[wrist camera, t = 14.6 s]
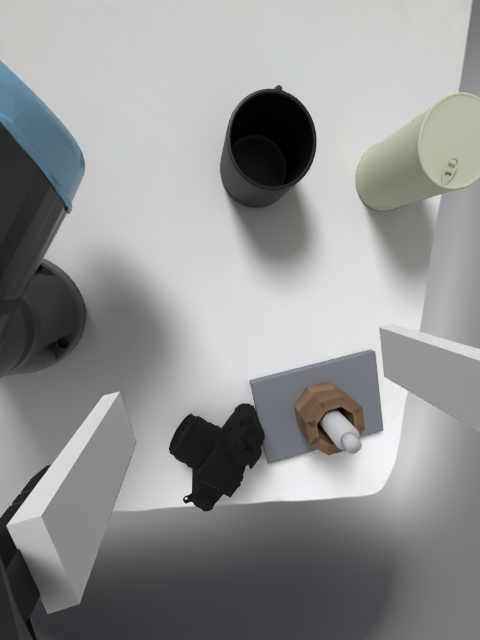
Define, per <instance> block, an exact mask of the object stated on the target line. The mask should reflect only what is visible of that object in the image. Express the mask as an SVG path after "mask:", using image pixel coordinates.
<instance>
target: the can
mask: <svg viewBox="0 0 480 640" xmlns="http://www.w3.org/2000/svg"><path fill="white" fill-rule="evenodd" d="M479 178H480V98H479V97H477V96H475V95H473V94H470V93H462V92H460V93H453V94H450V95H448V96H446V97H444V98H442V99H440V100H439V101H438V102H437V103H435V104H434V105H433V106H432V107H431V108H429V109H428V110H426V111H425V112H424V113H422V114H421V115H419V116H418V117H416V118H415V119H414V120H412V121H411V122H409V123H408V124H406V125H405V126H404V127H402V128H401V129H399V130H398V131H396V132H395V133H393V134H392V135H390V136H389V137H388V138H386V139H384V140H383V141H381V142H380V143H377V144H375V145H374V146H372V147H371V148H369V149H368V150H367V151H366V152H365V153H364V155H363V156H362V158H361V160H360V162H359V164H358V167H357V171H356V187H357V191H358V193H359V196H360V197H361V199H362V200H363V202H364V203H365V204H366V205H367V206H369V207H370V208H372V209H374V210H377V211H391V210H394V209H396V208H398V207H400V206H403V205H406V204H410V203H413V202H416V201H419V200H423V199H426V198H429V197H433V196H436V195H440V194H443V193H447V192H450V191H454V190H460V189H463V188H466V187H468V186H470V185H472V184H473V183H475V182H476V181H477V180H478V179H479Z"/></svg>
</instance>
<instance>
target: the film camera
mask: <svg viewBox="0 0 480 640" xmlns="http://www.w3.org/2000/svg"><path fill="white" fill-rule="evenodd" d="M264 439H265V435H264V430H263V428H262V426H261V423H260V421H259V419H258V416H257V413H256V410H255V408H254V406H253V405H252V406H251V405H250V404H240V405H239V406H238V407H236V408H235V411H234V412H233V414H232V415H231V416H230V418H229V419H228V420H227V421H226V423H225V424H224V425H223V427H222V428H220V427H219V426H217V425H216V426H215V425H214V424H212V423H210V422H207V421H205V420H204V419H202V418H201V417H199V416H197V417H195V416H193V415H192V414H189V415H188V416H187V417H186V418H185V419H184V420H183V421H182V423H181V424H180V425H179V427H178V428H177V430H176V432H175V434H174V436H173V438H172V440H171V443H170V447H169V450H170V454H172V455H174V456H175V458H176V459H177V460H179V461H180V462H183V463H185V464H187V466H188V467H190V468H193V469H192V472H193V476H192V493H191V494H190V495H187V496H185V497H184V498H183V501H184V503H186V504H187V503H188V502H193V503H194V505H196V507H199V508H201V509H202V510H203V511H210V510H211V509H213V507H214V504H215V503H216V502H217V501H218V500H219V499H220V497H221V496H222V495H223V494H225V495H227V496H229V497H231V496H232V495H233V493H234V492H235V491H236V489H237V488H238V487H239V486H240V485H241V481H242V479H243V474H244V471H245V466H246V465H249V467H250V469H251V468H252V467H253V466H254V465H255V463H256V462H257V461H258V459H259V458H260V456H261V452H262V451H261V445H262V443H263V441H264ZM186 497H187V498H188V499H187V500H185V498H186Z"/></svg>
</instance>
